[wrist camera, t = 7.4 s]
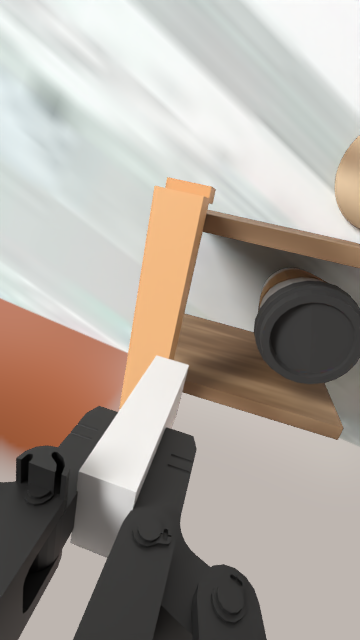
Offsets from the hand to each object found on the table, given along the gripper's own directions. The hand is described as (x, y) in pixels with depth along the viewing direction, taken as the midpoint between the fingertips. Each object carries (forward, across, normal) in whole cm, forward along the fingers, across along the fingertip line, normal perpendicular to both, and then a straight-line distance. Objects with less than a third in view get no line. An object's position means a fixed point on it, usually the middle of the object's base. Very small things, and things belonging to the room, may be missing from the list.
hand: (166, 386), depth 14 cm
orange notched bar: (+12, -3, 0) cm, 12 cm away
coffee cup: (+26, +8, 0) cm, 28 cm away
